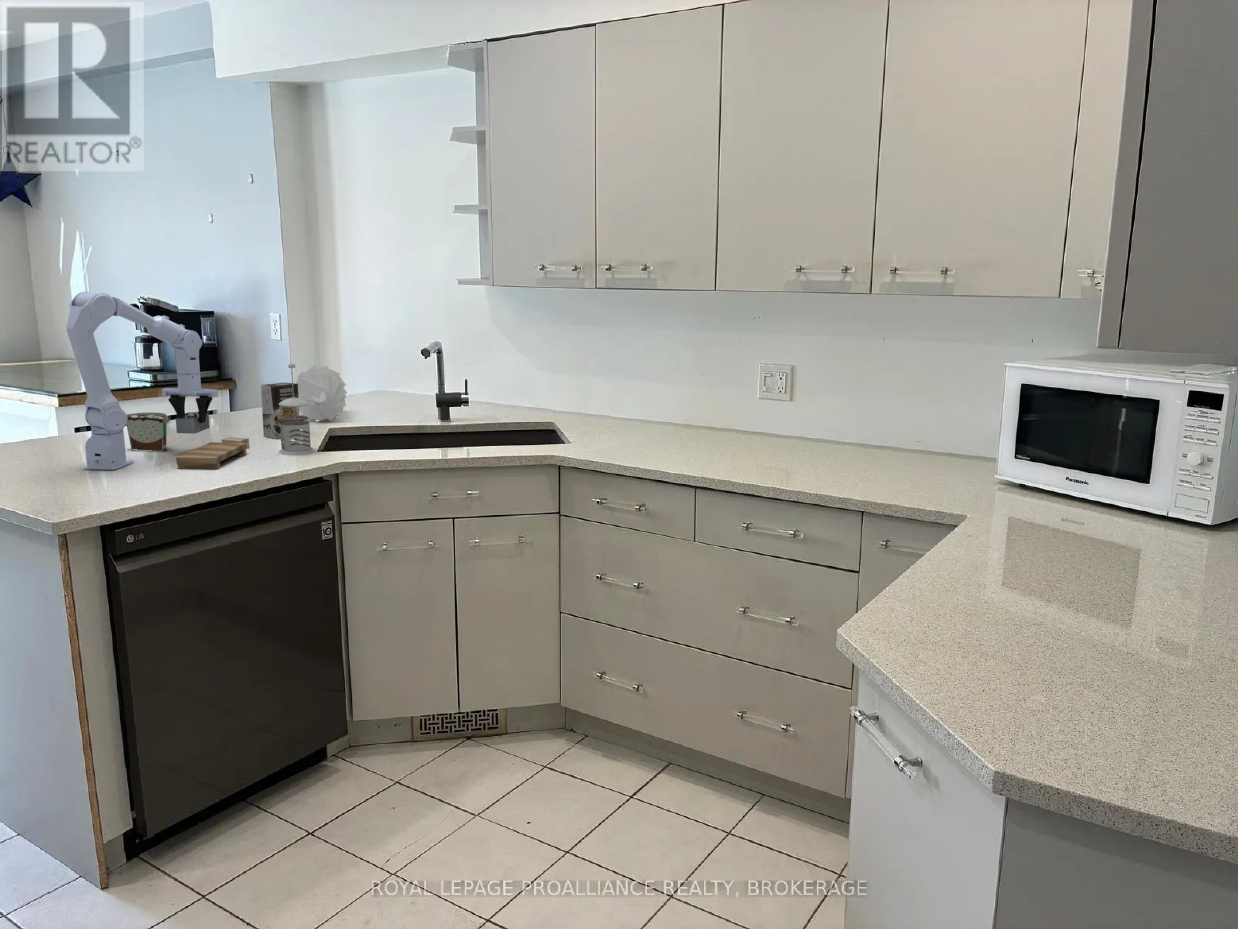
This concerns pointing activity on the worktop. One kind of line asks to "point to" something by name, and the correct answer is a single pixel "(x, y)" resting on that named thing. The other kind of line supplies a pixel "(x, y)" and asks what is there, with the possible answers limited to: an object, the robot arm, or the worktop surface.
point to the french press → (294, 428)
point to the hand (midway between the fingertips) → (192, 422)
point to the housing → (191, 423)
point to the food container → (147, 431)
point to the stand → (210, 455)
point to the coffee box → (277, 406)
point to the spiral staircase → (321, 393)
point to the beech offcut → (236, 440)
